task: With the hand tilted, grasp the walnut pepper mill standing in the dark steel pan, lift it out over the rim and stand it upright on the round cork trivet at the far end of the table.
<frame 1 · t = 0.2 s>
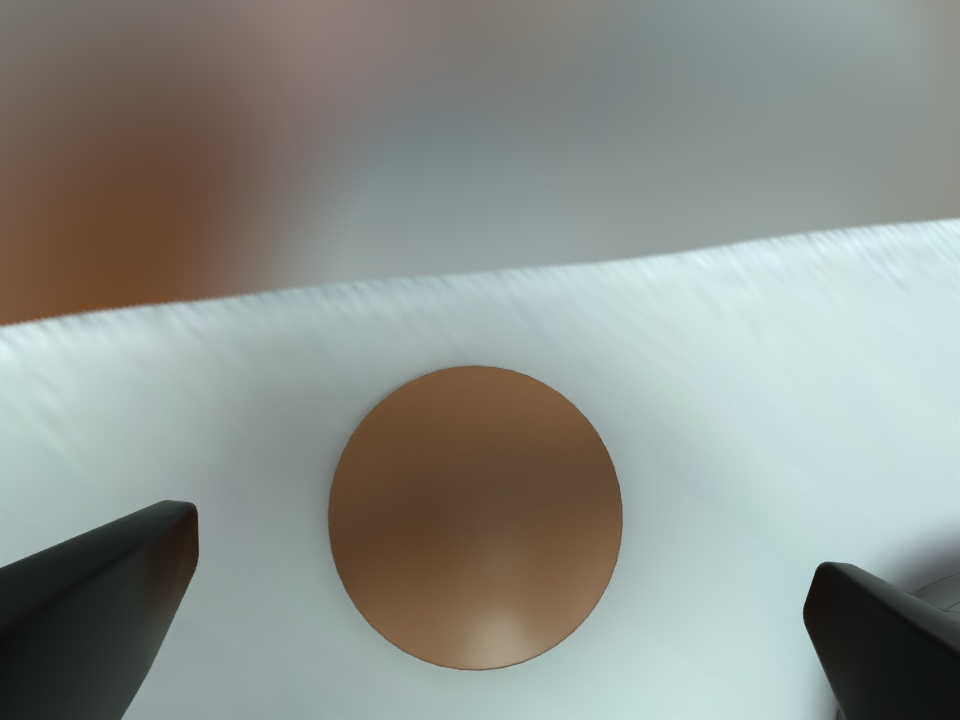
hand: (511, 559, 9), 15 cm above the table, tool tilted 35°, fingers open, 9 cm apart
trivet: (476, 508, 23), on the table
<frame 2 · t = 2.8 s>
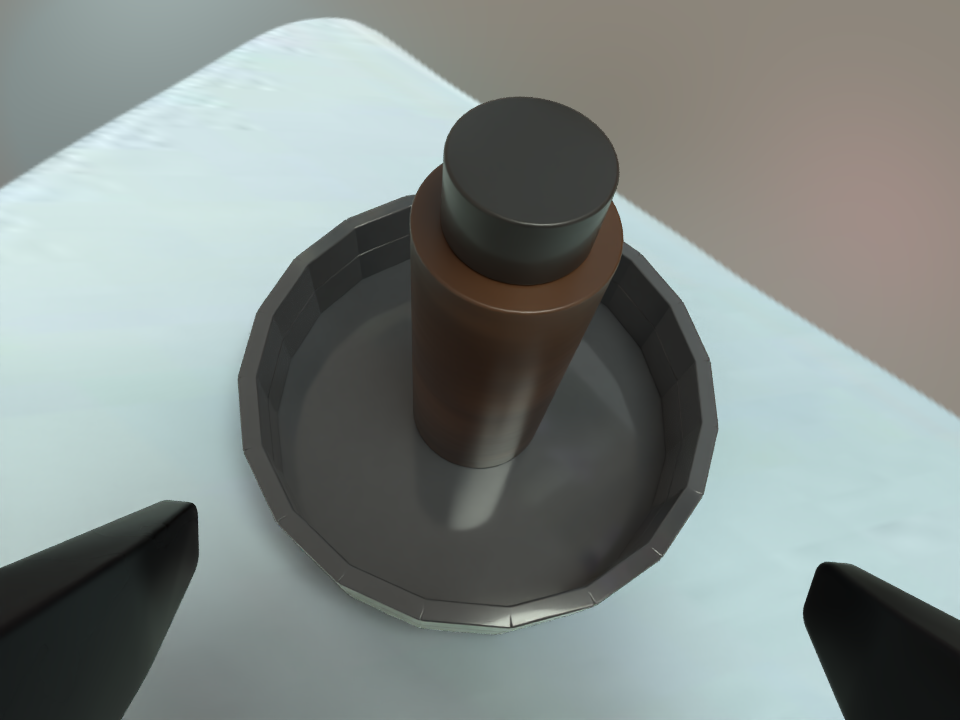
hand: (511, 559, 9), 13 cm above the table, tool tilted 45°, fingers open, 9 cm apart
pan: (475, 412, 24), on the table
pepper mill: (476, 406, 24), point 1 cm above the table, touching pan
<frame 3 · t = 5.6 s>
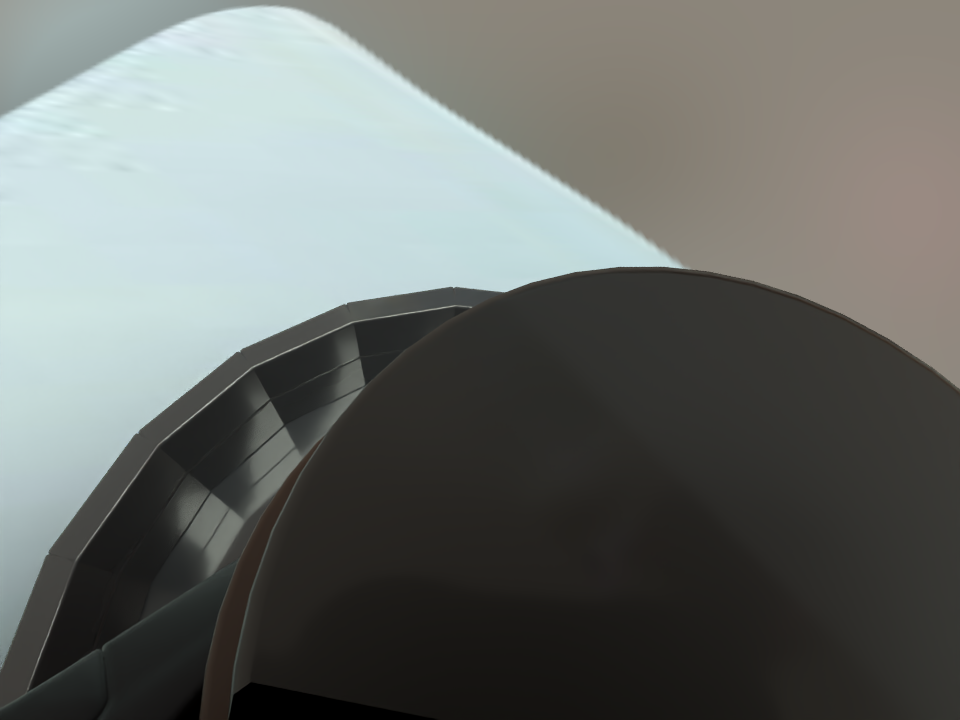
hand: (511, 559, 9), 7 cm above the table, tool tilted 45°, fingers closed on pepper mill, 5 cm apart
pan: (467, 668, 14), on the table
pepper mill: (468, 668, 14), point 1 cm above the table, touching gripper, pan
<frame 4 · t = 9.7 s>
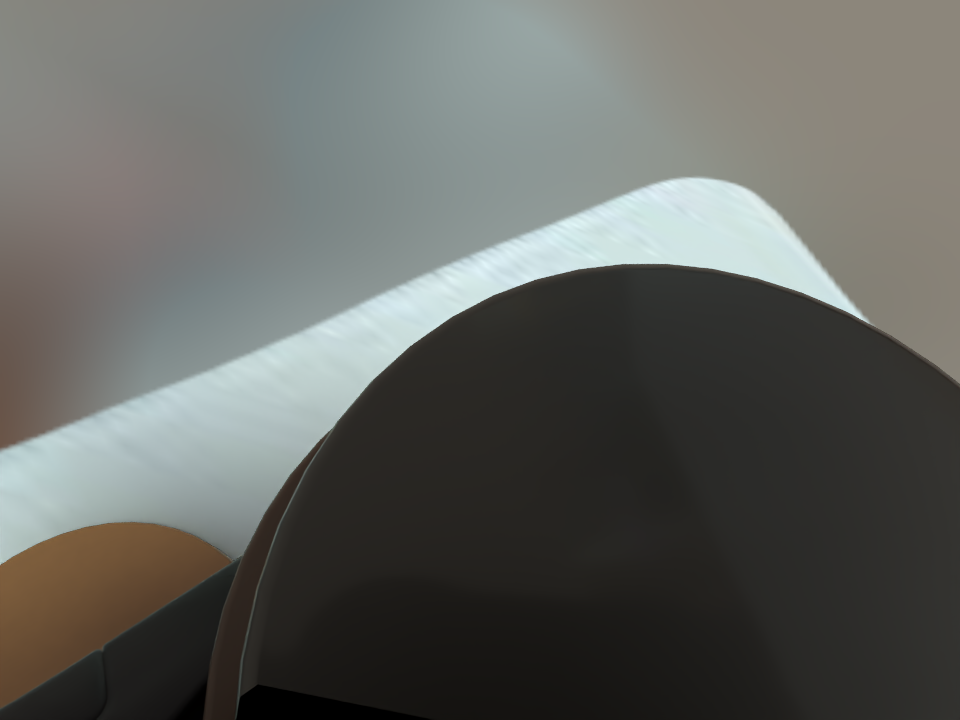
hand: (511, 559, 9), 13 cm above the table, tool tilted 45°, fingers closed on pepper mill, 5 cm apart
trivet: (98, 709, 18), on the table
pepper mill: (469, 667, 14), point 7 cm above the table, touching gripper
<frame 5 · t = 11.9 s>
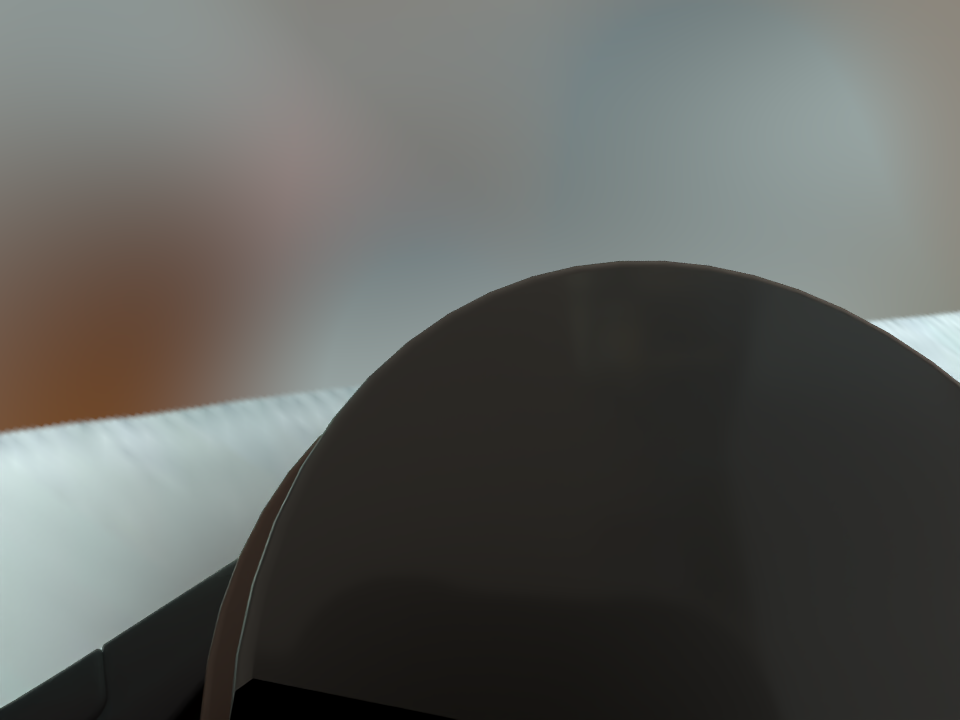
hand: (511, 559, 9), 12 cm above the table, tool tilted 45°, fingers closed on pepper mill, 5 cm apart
pepper mill: (468, 667, 14), point 6 cm above the table, touching gripper
when the fingers open (7 cm above the table, at t = 13.7 s): pepper mill stays where it is, resting on trivet.
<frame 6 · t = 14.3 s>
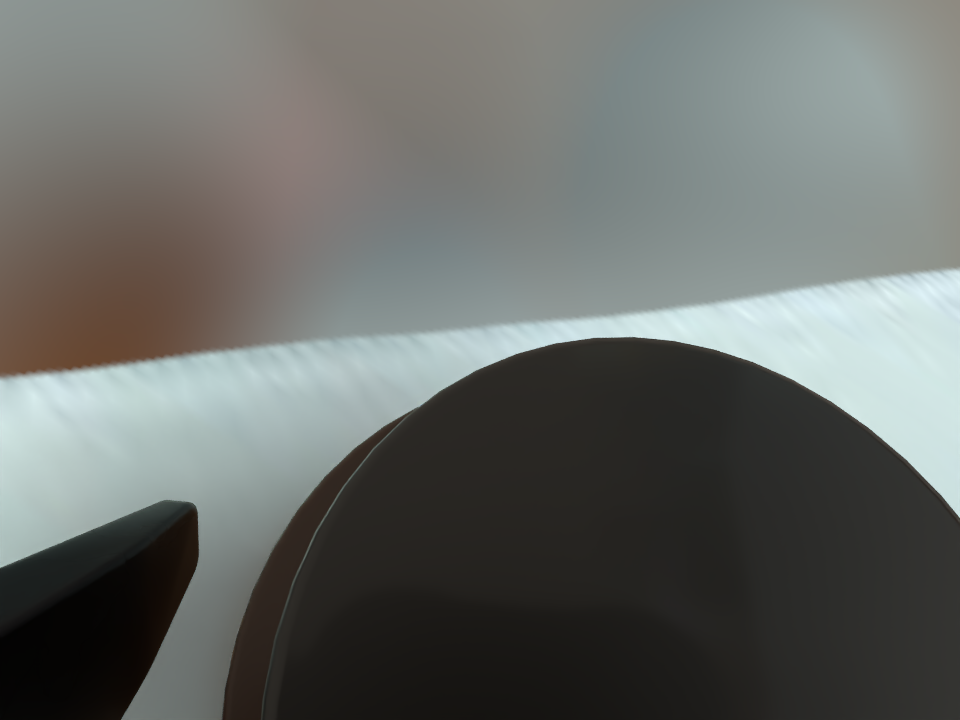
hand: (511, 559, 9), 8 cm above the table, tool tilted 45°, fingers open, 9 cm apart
pepper mill: (467, 674, 14), point 1 cm above the table, touching trivet
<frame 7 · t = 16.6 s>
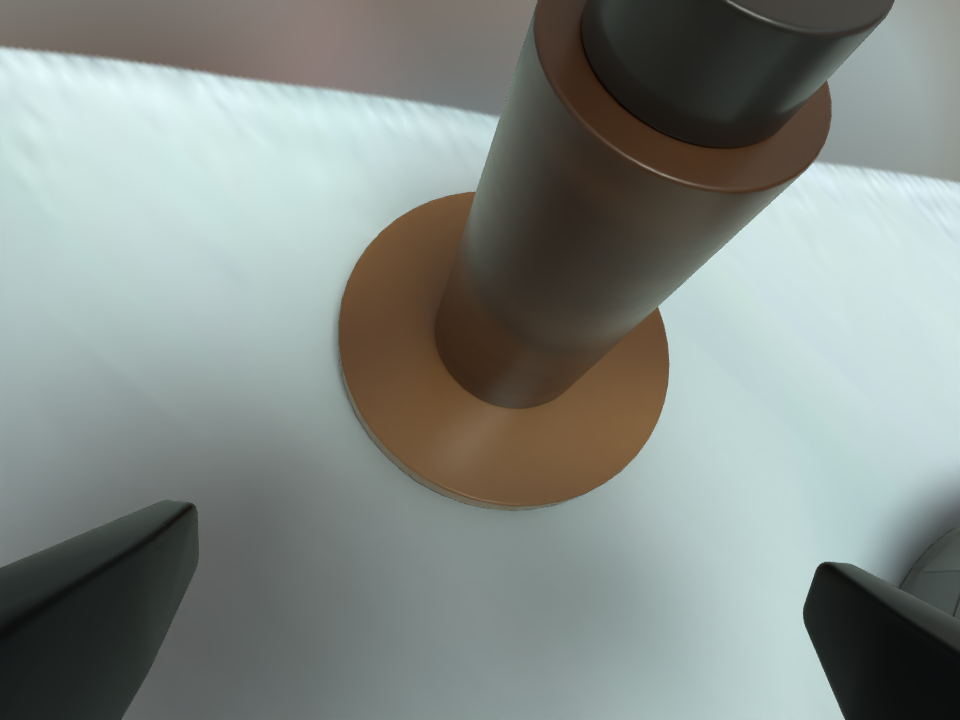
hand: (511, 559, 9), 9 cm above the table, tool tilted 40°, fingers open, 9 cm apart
trivet: (505, 344, 20), on the table
pepper mill: (511, 334, 19), point 1 cm above the table, touching trivet
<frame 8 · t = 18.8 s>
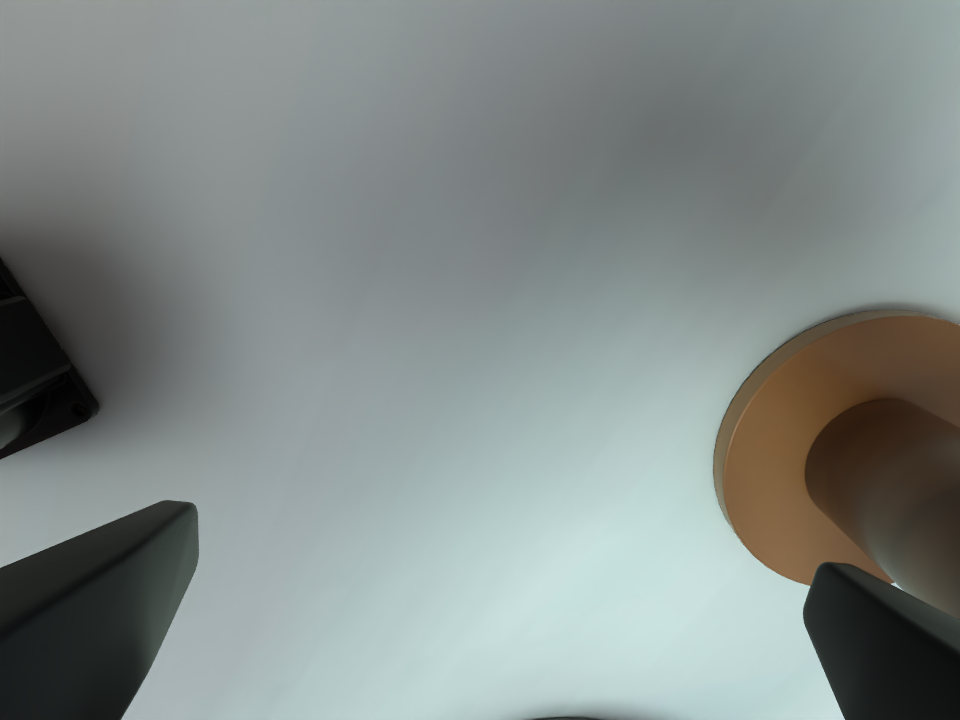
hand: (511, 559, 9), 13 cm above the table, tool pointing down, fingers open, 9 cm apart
trivet: (857, 451, 23), on the table
pepper mill: (873, 463, 22), point 1 cm above the table, touching trivet
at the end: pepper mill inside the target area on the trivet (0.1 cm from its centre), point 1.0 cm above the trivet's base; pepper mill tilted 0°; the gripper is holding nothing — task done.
